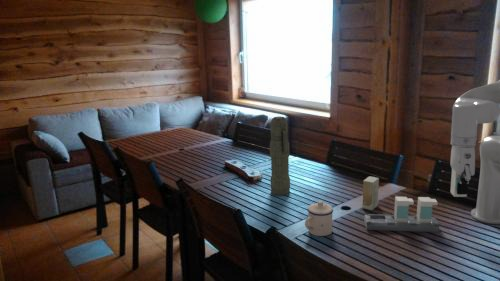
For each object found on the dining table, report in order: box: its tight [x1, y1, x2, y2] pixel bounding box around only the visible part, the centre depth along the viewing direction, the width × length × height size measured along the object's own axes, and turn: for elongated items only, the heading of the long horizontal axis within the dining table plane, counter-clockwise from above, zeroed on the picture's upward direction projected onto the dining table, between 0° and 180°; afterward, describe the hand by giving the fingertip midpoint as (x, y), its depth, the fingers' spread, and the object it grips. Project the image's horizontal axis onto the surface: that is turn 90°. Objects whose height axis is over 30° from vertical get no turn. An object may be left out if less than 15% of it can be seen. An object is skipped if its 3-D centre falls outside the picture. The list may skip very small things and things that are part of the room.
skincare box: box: [362, 176, 380, 211], centre depth 164 cm, size 6×4×12 cm
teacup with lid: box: [304, 200, 334, 237], centre depth 145 cm, size 12×9×12 cm
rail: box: [363, 213, 441, 233], centre depth 148 cm, size 25×7×3 cm, turn 81°
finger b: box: [393, 196, 415, 223], centre depth 146 cm, size 6×5×9 cm
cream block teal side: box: [416, 196, 438, 223], centre depth 145 cm, size 6×5×9 cm
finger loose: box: [450, 168, 473, 198], centre depth 138 cm, size 6×5×9 cm
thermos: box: [269, 116, 291, 197], centre depth 181 cm, size 9×12×35 cm
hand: (459, 190), depth 139 cm, fingers closed on finger loose, 4 cm apart
